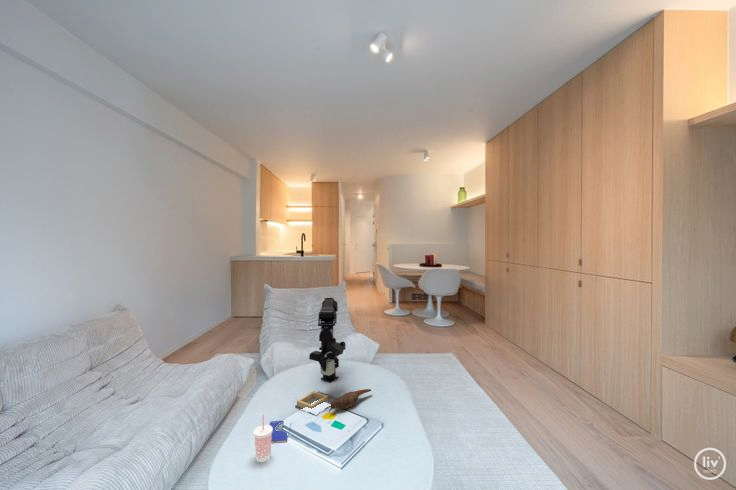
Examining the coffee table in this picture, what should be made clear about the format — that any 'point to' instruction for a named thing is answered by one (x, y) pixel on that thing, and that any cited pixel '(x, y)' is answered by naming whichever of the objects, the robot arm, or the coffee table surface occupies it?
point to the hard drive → (277, 433)
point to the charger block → (329, 367)
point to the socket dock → (313, 397)
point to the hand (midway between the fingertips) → (327, 369)
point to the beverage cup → (263, 441)
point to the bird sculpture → (347, 399)
